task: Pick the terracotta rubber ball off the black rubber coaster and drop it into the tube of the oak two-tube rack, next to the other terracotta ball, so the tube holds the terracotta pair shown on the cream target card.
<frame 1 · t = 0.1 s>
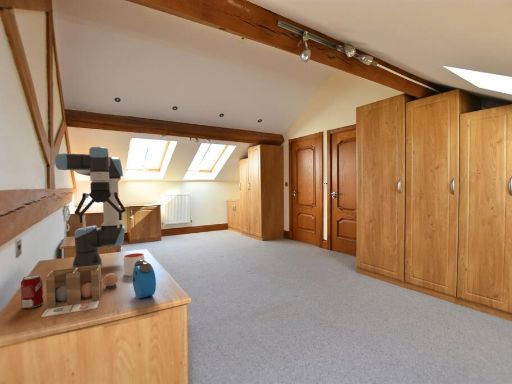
hand: (101, 228, 129), 28 cm above the table, fingers open, 13 cm apart
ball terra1: (87, 290, 120), point 4 cm above the table, touching rack
cup: (134, 274, 153), on the table
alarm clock: (144, 297, 121), on the table
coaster: (110, 287, 133), on the table
target card: (71, 309, 110), on the table
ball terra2: (110, 279, 133), point 4 cm above the table, touching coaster
ball grey: (63, 293, 117), point 4 cm above the table, touching rack
soda can: (32, 306, 114), on the table
rack: (76, 300, 119), on the table
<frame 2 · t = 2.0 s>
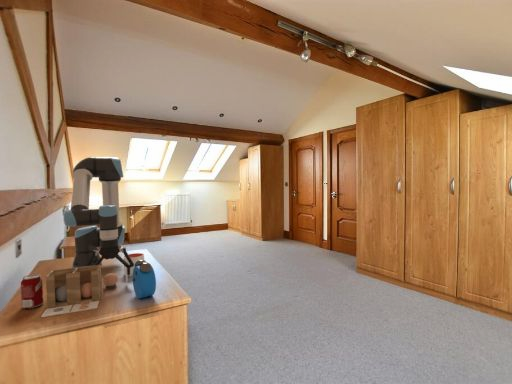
hand: (110, 284, 133), 1 cm above the table, fingers open, 13 cm apart
nothing on the table moved.
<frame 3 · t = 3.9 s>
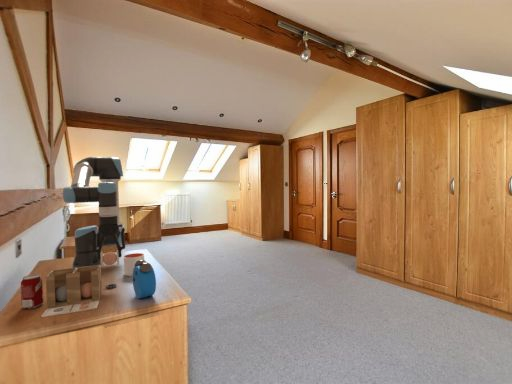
hand: (110, 265, 133), 10 cm above the table, fingers closed on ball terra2, 6 cm apart
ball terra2: (109, 258, 133), point 13 cm above the table, touching gripper
everything else where it was.
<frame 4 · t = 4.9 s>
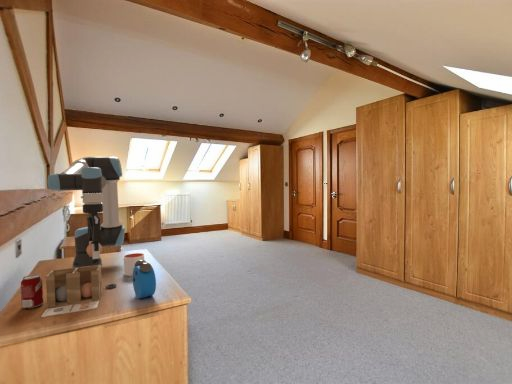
hand: (94, 257, 124), 17 cm above the table, fingers closed on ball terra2, 6 cm apart
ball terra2: (94, 249, 124), point 20 cm above the table, touching gripper
everything else where it was.
when the fingers open (14 cm above the table, at t = 5.8 s): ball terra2 drops 8 cm, resting on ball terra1.
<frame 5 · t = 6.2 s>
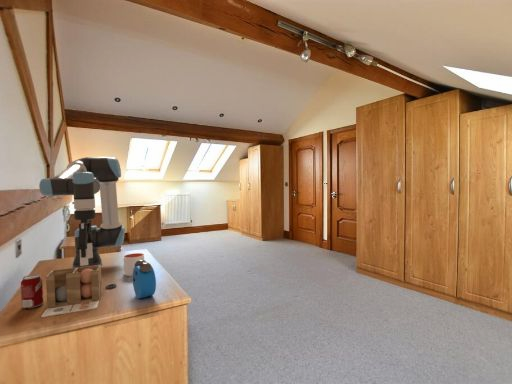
hand: (86, 261, 120), 16 cm above the table, fingers open, 11 cm apart
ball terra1: (87, 290, 120), point 4 cm above the table, touching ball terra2, rack
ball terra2: (87, 275, 120), point 10 cm above the table, touching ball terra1
everything else where it was.
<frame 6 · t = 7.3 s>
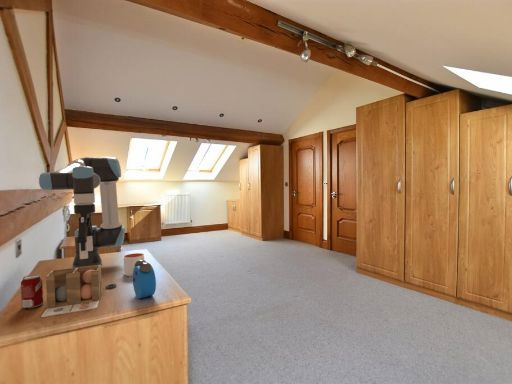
hand: (86, 254, 120), 19 cm above the table, fingers open, 13 cm apart
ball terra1: (87, 291, 118), point 4 cm above the table, tilted 33°, touching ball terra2, rack
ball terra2: (90, 276, 121), point 9 cm above the table, tilted 89°, touching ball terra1, rack
everything else where it was.
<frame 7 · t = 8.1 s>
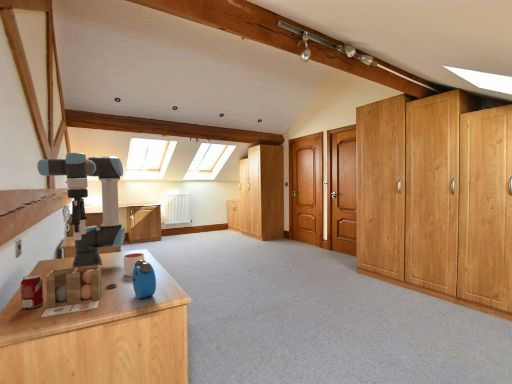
hand: (80, 236, 126), 25 cm above the table, fingers open, 13 cm apart
nothing on the table moved.
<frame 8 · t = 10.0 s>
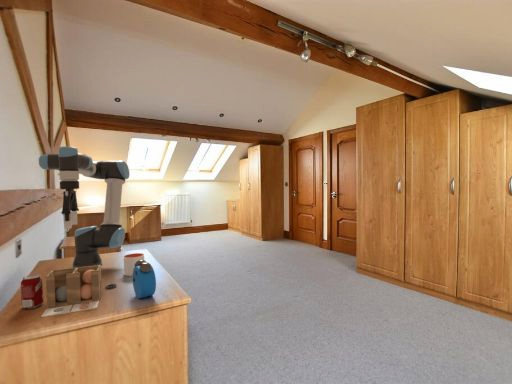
hand: (71, 226, 133), 29 cm above the table, fingers open, 13 cm apart
nothing on the table moved.
at the end: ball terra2 inside the target area on the rack (1.4 cm from its centre), point 8.8 cm above the rack's base; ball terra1 inside the target area on the rack (1.8 cm from its centre), point 3.6 cm above the rack's base; the gripper is holding nothing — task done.
